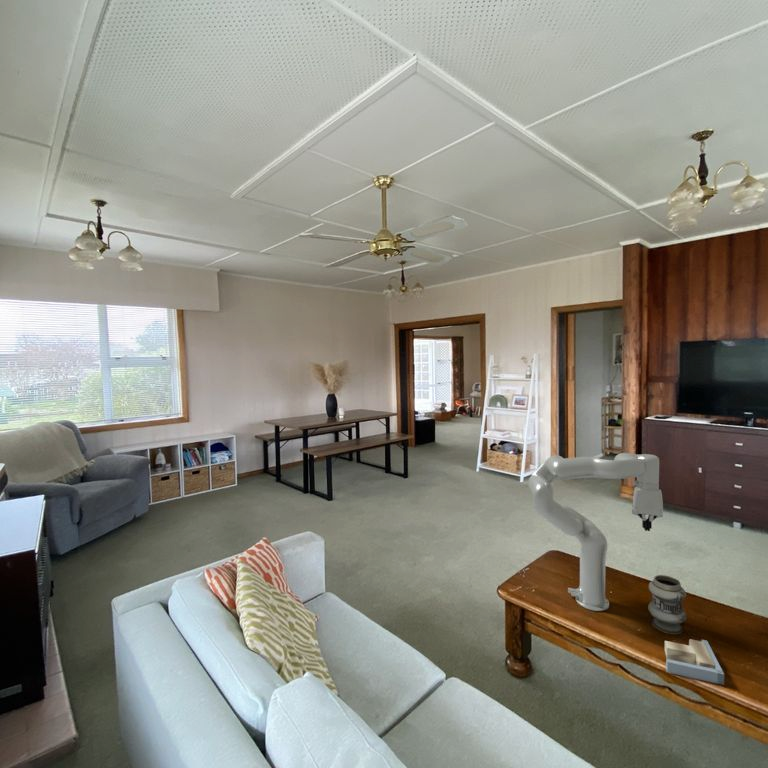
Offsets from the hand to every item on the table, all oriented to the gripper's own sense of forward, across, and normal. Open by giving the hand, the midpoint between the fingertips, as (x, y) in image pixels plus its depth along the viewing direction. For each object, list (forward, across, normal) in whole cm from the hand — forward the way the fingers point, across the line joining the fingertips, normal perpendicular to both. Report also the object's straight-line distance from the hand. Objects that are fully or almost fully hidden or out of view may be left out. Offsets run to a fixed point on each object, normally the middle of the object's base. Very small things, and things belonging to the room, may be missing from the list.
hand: (646, 529), depth 172 cm
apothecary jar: (+32, +5, -12) cm, 35 cm away
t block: (+32, +7, -30) cm, 45 cm away
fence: (+32, +7, -31) cm, 45 cm away
